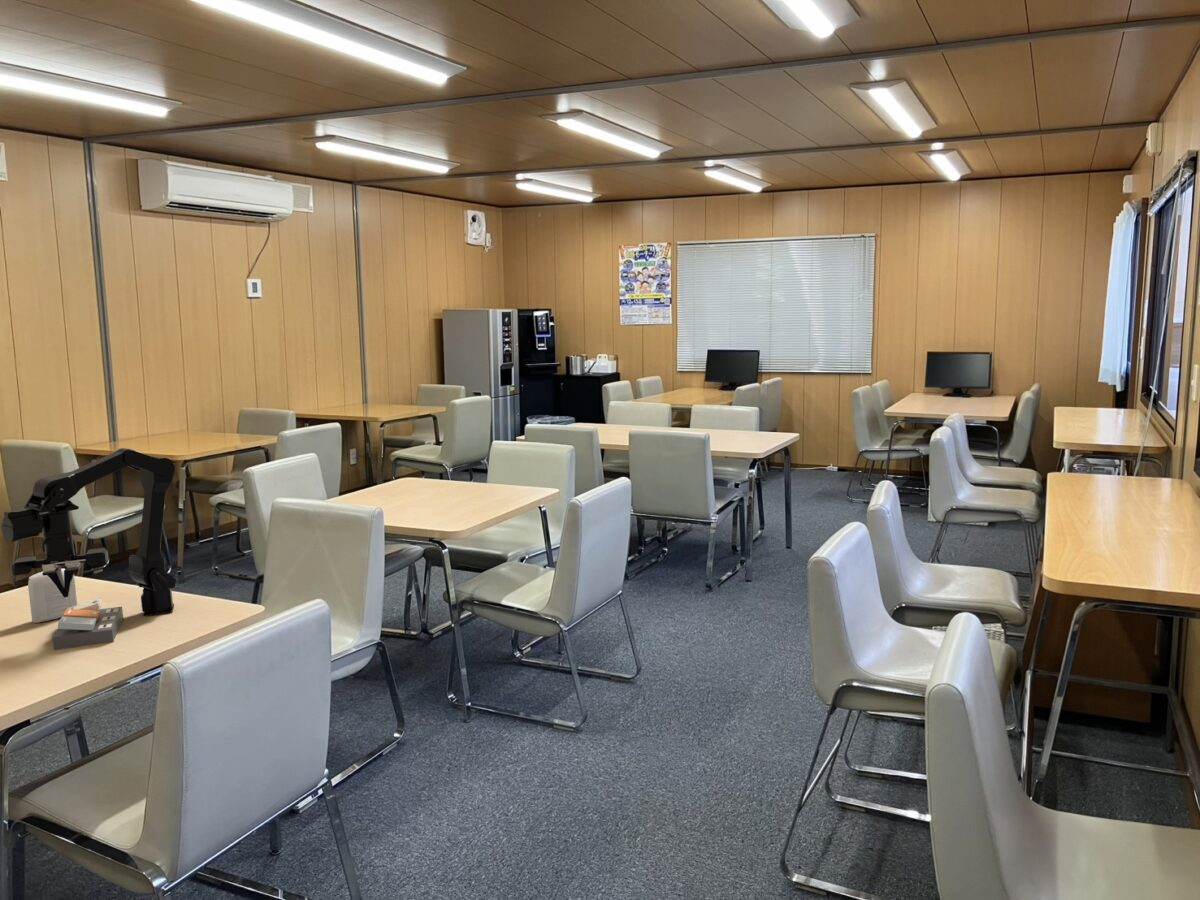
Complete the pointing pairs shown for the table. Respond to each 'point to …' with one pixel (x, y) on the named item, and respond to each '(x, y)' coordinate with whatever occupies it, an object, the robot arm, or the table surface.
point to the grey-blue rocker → (77, 623)
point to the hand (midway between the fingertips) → (66, 596)
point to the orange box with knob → (82, 613)
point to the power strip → (91, 631)
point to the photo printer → (49, 598)
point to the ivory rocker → (89, 605)
